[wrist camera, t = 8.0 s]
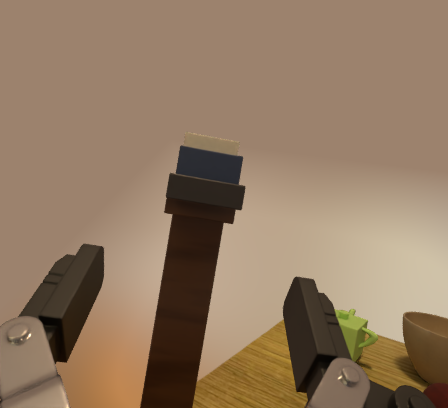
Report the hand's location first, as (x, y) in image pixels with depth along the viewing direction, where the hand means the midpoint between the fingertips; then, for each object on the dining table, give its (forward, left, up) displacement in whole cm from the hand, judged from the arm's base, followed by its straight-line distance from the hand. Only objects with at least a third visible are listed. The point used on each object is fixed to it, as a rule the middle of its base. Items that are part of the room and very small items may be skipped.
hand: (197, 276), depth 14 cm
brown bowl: (+49, +61, -28) cm, 83 cm away
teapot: (+27, +63, -28) cm, 74 cm away
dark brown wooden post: (-3, +18, -28) cm, 34 cm away
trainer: (-3, +14, +3) cm, 15 cm away
